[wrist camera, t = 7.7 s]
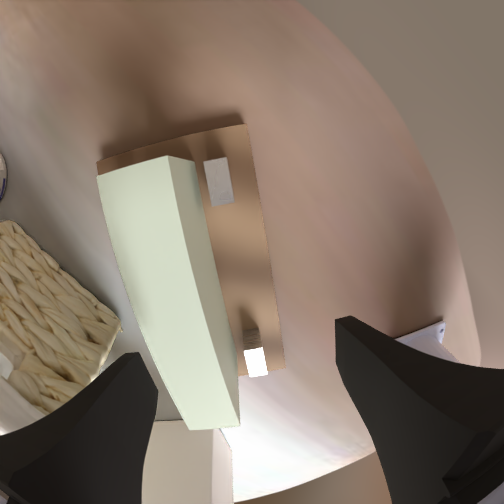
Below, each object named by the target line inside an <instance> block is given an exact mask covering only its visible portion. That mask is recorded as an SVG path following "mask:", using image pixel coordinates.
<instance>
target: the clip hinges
mask: <svg viewBox="0 0 504 504" xmlns="http://www.w3.org/2000/svg"><path fill="white" fill-rule="evenodd" d="M203 163H204V168H205V173H206V179H207V184H208V189H209V194H210V200H211V205H212V207H213V206H218V205H223V204H229V203H234V202H235V199H234V193H233V187H232V182H231V176H230V171H229V165H228V160H227V157H224V158H219V159H214V160H209V161H204V162H203ZM242 333H243V347H244V354H245V358H246V362H247V366H248V370H249V374H250V377H254V376H260V375H266V374H267V368H266V363H265V357H264V351H263V346H262V341H261V336H260V331H259V328H253V329H247V330H242Z"/></svg>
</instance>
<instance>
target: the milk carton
mask: <svg viewBox="0 0 504 504" xmlns="http://www.w3.org/2000/svg"><path fill="white" fill-rule="evenodd" d="M142 504H234V502H233V476H232V450H231V449H230V447H229V445H228V443H227V442H226V440H225V438H224V436H223V434H222V433H221V431H220V429H219V428H218V429H205V430H189V429H188V427H187V425H186V423H185V422H184V420H176V421H154V423H153V427H152V431H151V435H150V439H149V443H148V447H147V452H146V456H145V461H144V467H143V479H142Z"/></svg>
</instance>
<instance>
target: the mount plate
mask: <svg viewBox="0 0 504 504" xmlns="http://www.w3.org/2000/svg"><path fill="white" fill-rule="evenodd" d="M167 155H168V156H172V157H177V158H181V159H185V160H189V161H194V162H195V167H196V173H197V178H198V183H199V188H200V194H201V199H202V204H203V209H204V214H205V219H206V224H207V228H208V233H209V238H210V243H211V247H212V252H213V256H214V261H215V265H216V270H217V274H218V279H219V283H220V287H221V292H222V296H223V300H224V304H225V308H226V313H227V317H228V321H229V325H230V329H231V333H232V337H233V341H234V345H235V349H236V352H237V365H238V376H243V375H249V370H248V366H247V362H246V358H245V354H244V347H243V333H242V330H247V329H253V328H259V331H260V336H261V341H262V346H263V351H264V357H265V363H266V368H267V371H272V370H278V369H283V368H286V365H285V358H284V351H283V344H282V337H281V330H280V324H279V317H278V310H277V303H276V297H275V290H274V284H273V277H272V271H271V265H270V258H269V252H268V246H267V240H266V234H265V228H264V221H263V215H262V209H261V203H260V198H259V192H258V186H257V180H256V174H255V168H254V163H253V157H252V151H251V146H250V140H249V135H248V129H247V124H241V125H235V126H229V127H224V128H218V129H213V130H208V131H203V132H199V133H194V134H190V135H185V136H181V137H177V138H173V139H169V140H165V141H161V142H158V143H154V144H150V145H147V146H143V147H140V148H137V149H133V150H130V151H127V152H124V153H121V154H118V155H115V156H112V157H109V158H106V159H103V160H100V161H97V162H96V163H97V169H98V175H102V174H105V173H108V172H111V171H114V170H117V169H121V168H124V167H127V166H131V165H134V164H137V163H141V162H145V161H148V160H152V159H156V158H159V157H163V156H167ZM224 157H227V160H228V165H229V171H230V176H231V182H232V187H233V193H234V199H235V202H234V203H229V204H223V205H218V206H213V207H212V205H211V200H210V194H209V189H208V184H207V179H206V173H205V168H204V163H203V162H204V161H209V160H214V159H219V158H224Z"/></svg>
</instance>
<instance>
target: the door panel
mask: <svg viewBox="0 0 504 504" xmlns="http://www.w3.org/2000/svg"><path fill="white" fill-rule="evenodd" d="M96 178H97V183H98V188H99V193H100V198H101V203H102V207H103V212H104V216H105V220H106V224H107V228H108V232H109V236H110V240H111V244H112V247H113V251H114V254H115V258H116V261H117V264H118V268H119V271H120V274H121V277H122V280H123V283H124V286H125V289H126V292H127V295H128V298H129V301H130V303H131V306H132V309H133V312H134V314H135V317H136V320H137V322H138V325H139V327H140V330H141V332H142V335H143V337H144V340H145V342H146V344H147V347H148V349H149V351H150V354H151V356H152V358H153V360H154V363H155V365H156V367H157V369H158V371H159V373H160V375H161V378H162V380H163V382H164V384H165V386H166V388H167V390H168V392H169V394H170V396H171V398H172V400H173V401H174V403H175V405H176V407H177V409H178V411H179V413H180V414H181V416H182V418H183V420H184V422H185V423H186V425H187V427H188V429H189V430H205V429H218V428H229V427H238V426H240V411H239V389H238V365H237V352H236V349H235V345H234V341H233V337H232V333H231V329H230V325H229V321H228V317H227V313H226V308H225V304H224V300H223V296H222V292H221V287H220V283H219V279H218V274H217V270H216V265H215V261H214V256H213V252H212V247H211V243H210V238H209V233H208V228H207V224H206V219H205V214H204V209H203V204H202V199H201V194H200V188H199V183H198V178H197V173H196V167H195V162H194V161H189V160H185V159H181V158H177V157H172V156H168V155H167V156H163V157H159V158H156V159H152V160H148V161H145V162H141V163H137V164H134V165H131V166H127V167H124V168H121V169H117V170H114V171H111V172H108V173H105V174H102V175H99V176H96Z"/></svg>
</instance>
